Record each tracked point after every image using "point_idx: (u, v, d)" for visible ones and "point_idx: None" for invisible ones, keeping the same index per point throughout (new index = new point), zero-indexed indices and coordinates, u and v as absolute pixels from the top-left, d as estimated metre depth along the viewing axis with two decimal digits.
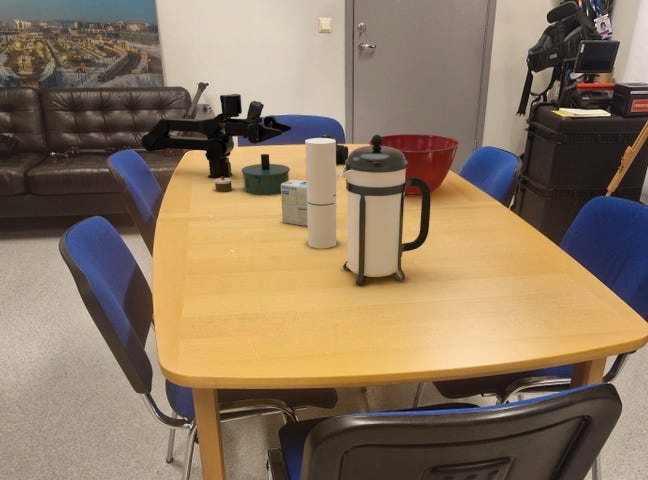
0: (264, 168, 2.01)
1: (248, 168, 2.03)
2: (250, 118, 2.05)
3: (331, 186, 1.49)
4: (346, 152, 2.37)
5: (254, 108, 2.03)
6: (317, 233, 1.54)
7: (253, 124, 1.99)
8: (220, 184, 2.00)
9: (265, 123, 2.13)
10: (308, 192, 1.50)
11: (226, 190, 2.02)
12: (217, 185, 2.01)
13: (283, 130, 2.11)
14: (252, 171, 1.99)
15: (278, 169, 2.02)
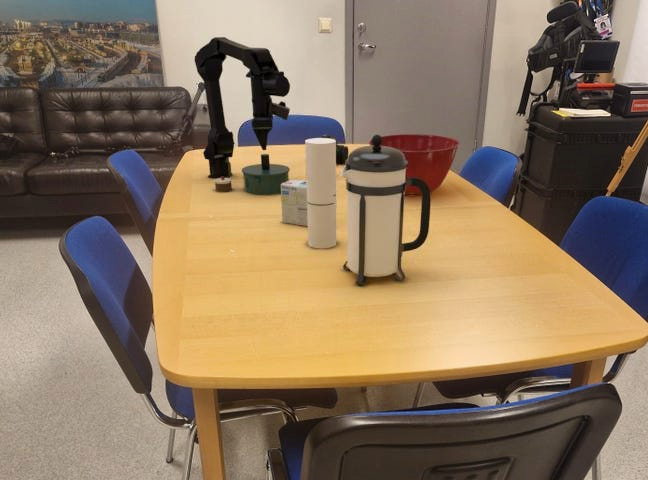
0: (264, 168, 2.01)
1: (248, 168, 2.03)
2: (273, 110, 1.91)
3: (331, 186, 1.49)
4: (346, 152, 2.37)
5: (284, 115, 1.93)
6: (317, 233, 1.54)
7: (271, 125, 1.87)
8: (220, 184, 2.00)
9: None
10: (308, 192, 1.50)
11: (226, 190, 2.02)
12: (217, 185, 2.01)
13: None
14: (252, 171, 1.99)
15: (278, 169, 2.02)
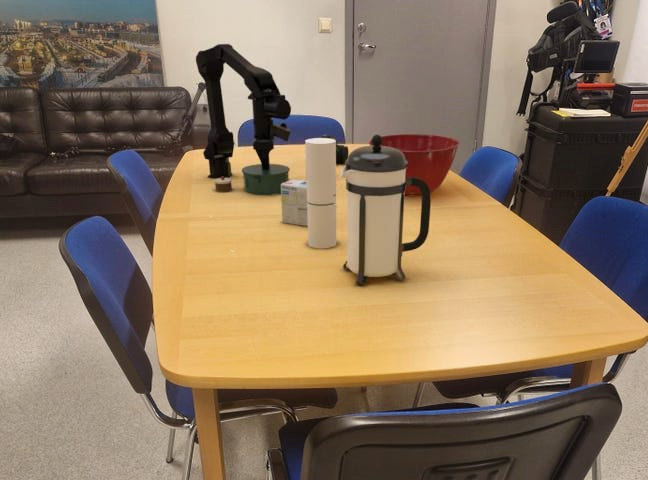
0: None
1: (248, 168, 2.03)
2: (274, 131, 1.94)
3: (331, 186, 1.49)
4: (346, 152, 2.37)
5: (284, 136, 1.96)
6: (317, 233, 1.54)
7: (272, 147, 1.90)
8: (220, 184, 2.00)
9: None
10: (308, 192, 1.50)
11: (226, 190, 2.02)
12: (217, 185, 2.01)
13: None
14: (252, 171, 1.99)
15: (278, 169, 2.02)
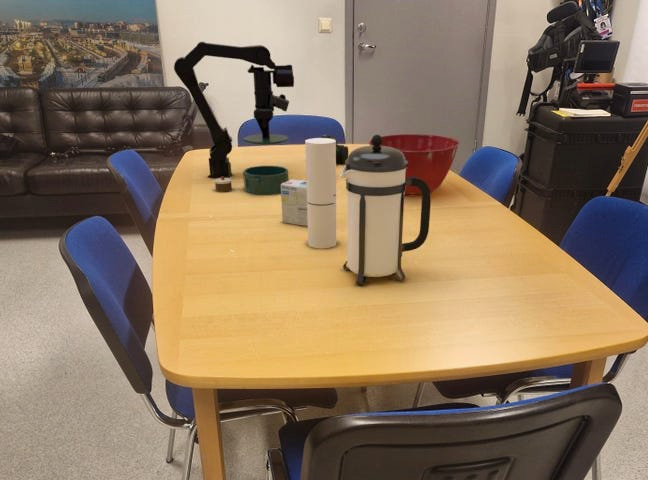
0: (264, 137, 2.16)
1: (250, 137, 2.18)
2: (274, 102, 2.09)
3: (331, 186, 1.49)
4: (346, 152, 2.37)
5: (283, 106, 2.10)
6: (317, 233, 1.54)
7: (272, 116, 2.05)
8: (220, 184, 2.00)
9: None
10: (308, 192, 1.50)
11: (226, 190, 2.02)
12: (217, 185, 2.01)
13: None
14: (253, 139, 2.14)
15: (277, 138, 2.16)
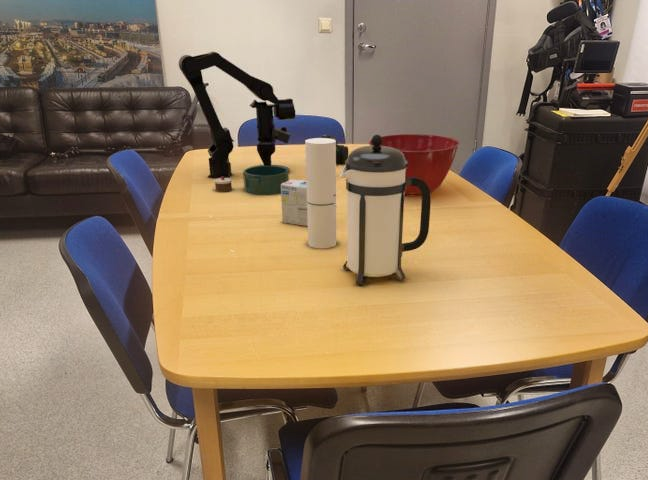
0: None
1: None
2: (276, 134, 2.17)
3: (331, 186, 1.49)
4: (346, 152, 2.37)
5: (285, 139, 2.18)
6: (317, 233, 1.54)
7: (274, 149, 2.13)
8: (220, 184, 2.00)
9: None
10: (308, 192, 1.50)
11: (226, 190, 2.02)
12: (217, 185, 2.01)
13: None
14: None
15: None
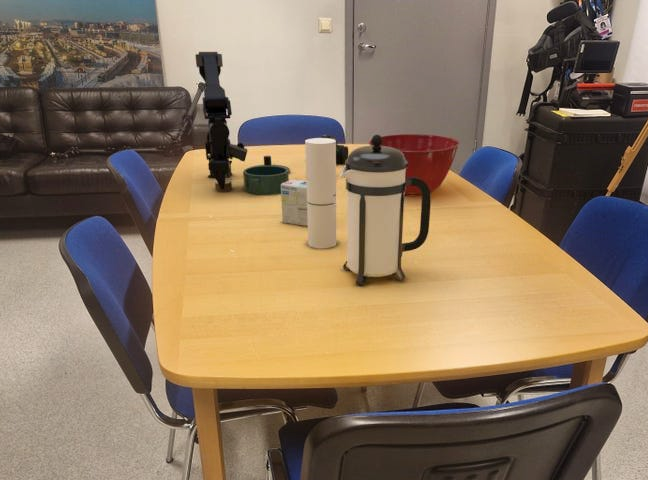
0: None
1: None
2: (230, 152, 1.96)
3: (331, 186, 1.49)
4: (346, 152, 2.37)
5: (241, 156, 1.97)
6: (317, 233, 1.54)
7: (228, 168, 1.92)
8: None
9: None
10: (308, 192, 1.50)
11: (226, 190, 2.02)
12: (217, 185, 2.01)
13: None
14: None
15: None
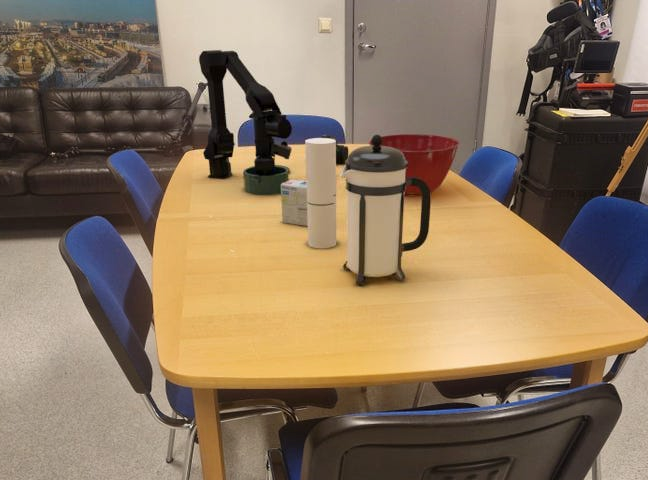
0: None
1: None
2: (275, 150, 1.97)
3: (331, 186, 1.49)
4: (346, 152, 2.37)
5: (285, 154, 1.98)
6: (317, 233, 1.54)
7: (273, 166, 1.93)
8: None
9: None
10: (308, 192, 1.50)
11: None
12: None
13: None
14: None
15: None
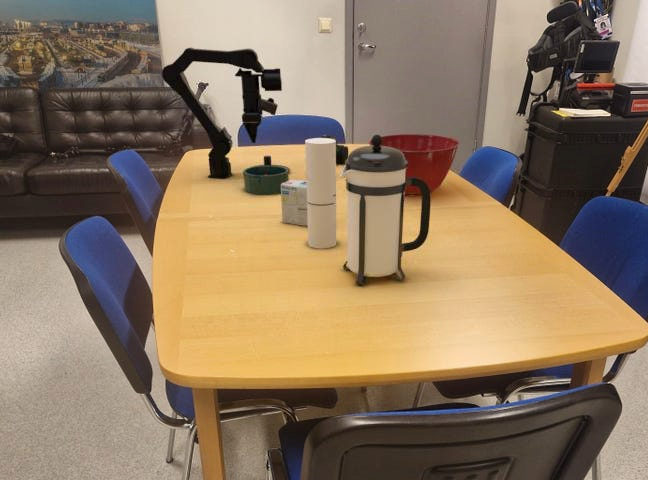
0: None
1: None
2: (262, 105, 2.07)
3: (331, 186, 1.49)
4: (346, 152, 2.37)
5: (272, 110, 2.09)
6: (317, 233, 1.54)
7: (260, 120, 2.04)
8: None
9: None
10: (308, 192, 1.50)
11: None
12: None
13: None
14: None
15: None
